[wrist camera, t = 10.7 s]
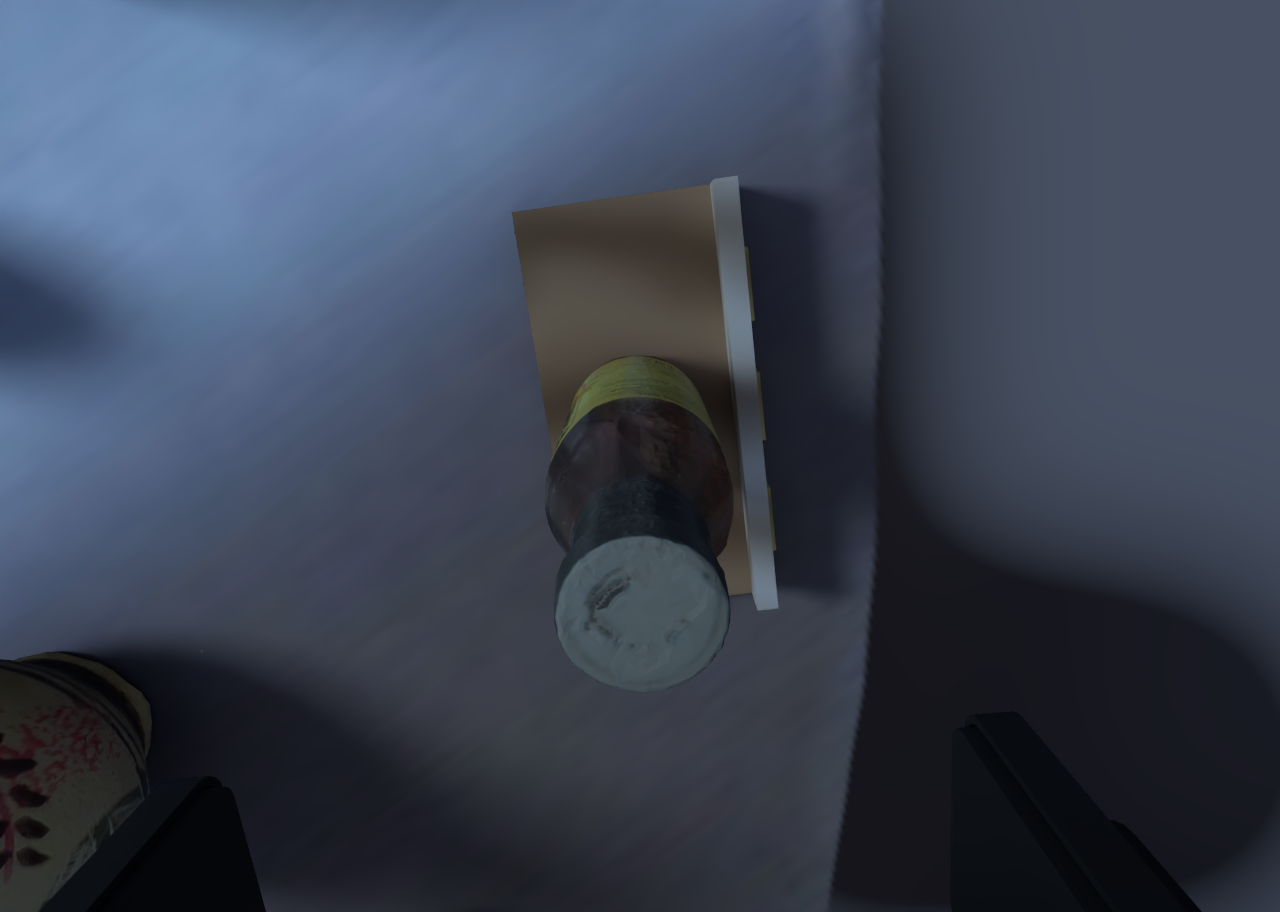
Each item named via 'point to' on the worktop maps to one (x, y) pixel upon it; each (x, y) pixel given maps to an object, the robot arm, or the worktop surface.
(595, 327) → the tan white-edged panel
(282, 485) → the worktop surface
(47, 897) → the ceramic jug
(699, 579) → the sauce bottle
